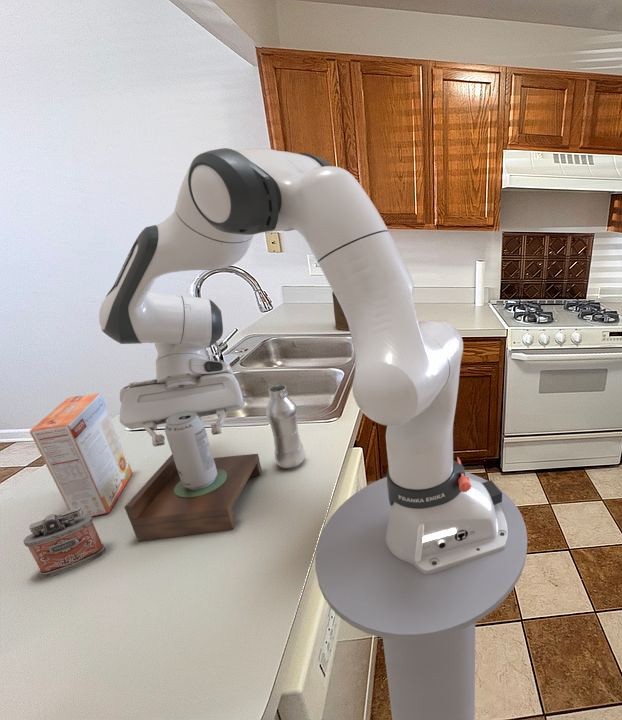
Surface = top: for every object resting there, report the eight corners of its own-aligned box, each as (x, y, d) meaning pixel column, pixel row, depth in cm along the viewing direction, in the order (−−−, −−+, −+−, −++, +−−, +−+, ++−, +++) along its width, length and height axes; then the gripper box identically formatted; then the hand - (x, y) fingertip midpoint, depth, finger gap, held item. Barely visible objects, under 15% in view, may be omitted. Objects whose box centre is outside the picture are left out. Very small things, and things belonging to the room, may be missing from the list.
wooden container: (369, 328, 200) (365, 284, 192) (339, 332, 193) (333, 287, 185) (362, 321, 212) (357, 280, 204) (333, 324, 205) (327, 282, 197)
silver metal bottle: (296, 452, 99) (282, 379, 92) (312, 462, 96) (299, 387, 88) (271, 465, 94) (254, 389, 87) (286, 475, 91) (270, 397, 83)
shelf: (262, 471, 92) (255, 442, 89) (233, 529, 76) (223, 495, 73) (185, 479, 89) (176, 449, 86) (137, 541, 73) (124, 507, 70)
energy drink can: (188, 475, 82) (169, 412, 77) (221, 470, 84) (204, 407, 79) (178, 494, 77) (156, 427, 72) (214, 488, 79) (195, 422, 73)
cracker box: (100, 479, 89) (66, 396, 81) (134, 473, 91) (103, 391, 83) (70, 523, 77) (26, 429, 69) (109, 514, 79) (71, 423, 71)
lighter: (40, 581, 65) (14, 534, 61) (42, 568, 67) (18, 522, 64) (106, 555, 70) (85, 510, 66) (106, 543, 72) (86, 499, 69)
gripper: (112, 378, 75) (113, 448, 70) (236, 361, 84) (244, 423, 79) (126, 390, 80) (127, 456, 76) (241, 373, 89) (249, 431, 85)
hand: (188, 439), depth 78 cm, fingers open, 8 cm apart
